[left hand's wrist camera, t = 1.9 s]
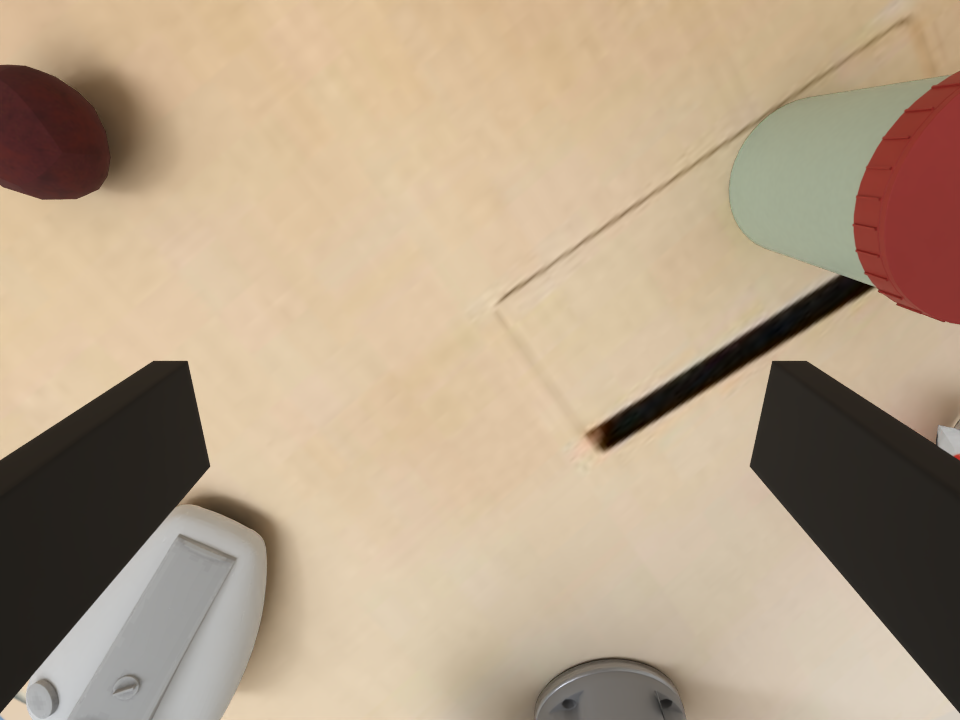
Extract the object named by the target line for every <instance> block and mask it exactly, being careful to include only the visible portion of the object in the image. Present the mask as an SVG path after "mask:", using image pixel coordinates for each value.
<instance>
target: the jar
mask: <svg viewBox="0 0 960 720" xmlns="http://www.w3.org/2000/svg"><path fill="white" fill-rule="evenodd" d="M949 76H951V75H947V76H941V77H934V78H928V79H922V80H915V81H909V82H903V83H896V84H890V85H884V86H877V87H871V88H865V89H859V90H852V91H846V92H840V93H833V94H827V95H821V96H814V97H808V98H804V99H800V100H797V101H794V102H791V103H789V104H787V105H785V106H783V107H781V108H779V109H777V110H776V111H774V112H773V113H772V114H770V115H769V116H767V117H766V118H765V119H764V120H763V121H762V122H761V123H759V125H758V126H757V127H756V128H755V129H754V130H753V131H752V132H751V134H750V135H749V136H748V138H747V139H746V140H745V142H744V144H743V145H742V147H741V149H740V150H739V153H738V155H737V157H736V159H735V162H734V165H733V168H732V172H731V177H730V184H729V199H730V205H731V210H732V213H733V216H734V219H735V221H736V222H737V224H738V226H739V228H740V229H741V230H742V232H743V233H744V234H745V235H746V236H747V237H748V238H749V239H750V240H751V241H753V242H754V243H756V244H757V245H759V246H761V247H763V248H765V249H768V250H771V251H774V252H777V253H780V254H783V255H785V256H788V257H791V258H794V259H797V260H800V261H803V262H806V263H808V264H811V265H814V266H817V267H820V268H823V269H826V270H829V271H831V272H834V273H837V274H840V275H843V276H846V277H849V278H852V279H854V280H857V281H860V282H863V283H866V284H869V285H872V286H875V285H874V284H873V283H872V282H871V280H870V279H869V277H868V276H867V275H865V274H864V272H865V271H864V269H863V267H862V265H861V263H860V260H859V257H858V254H857V252H855V250H856V247H855V240H854V232H853V226H852V224H854V210H855V203H856V195H857V194H858V190H859V187H860V183H861V180H862V178H863V175H864V173H865V170H866V166H867V165H868V163H869V161H870V160H871V158H872V156H873V154H874V152H875V150H876V148H877V147H878V145H879V144H880V142H881V141H882V137H883V136H885V135H886V133H887V132H888V131H889V129H890V128H891V127H892V126H893V125H894V123H895V122H896V121H897V120H898V118H899V117H900V116H901V115H902V114H903V113H904V110H905V109H908V108H909V107H910V106H911V105H912V104H913V103H914V102H915V101H916V100H918V99H919V98H920V97H921V96H923V95H924V94H925V93H926V92H927V91H929V90H930V89H931V87H932V86H933V85H937V84H939V83H940V82H942V81H943V80H945V79H946V78H948V77H949ZM875 287H876V286H875Z"/></svg>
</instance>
